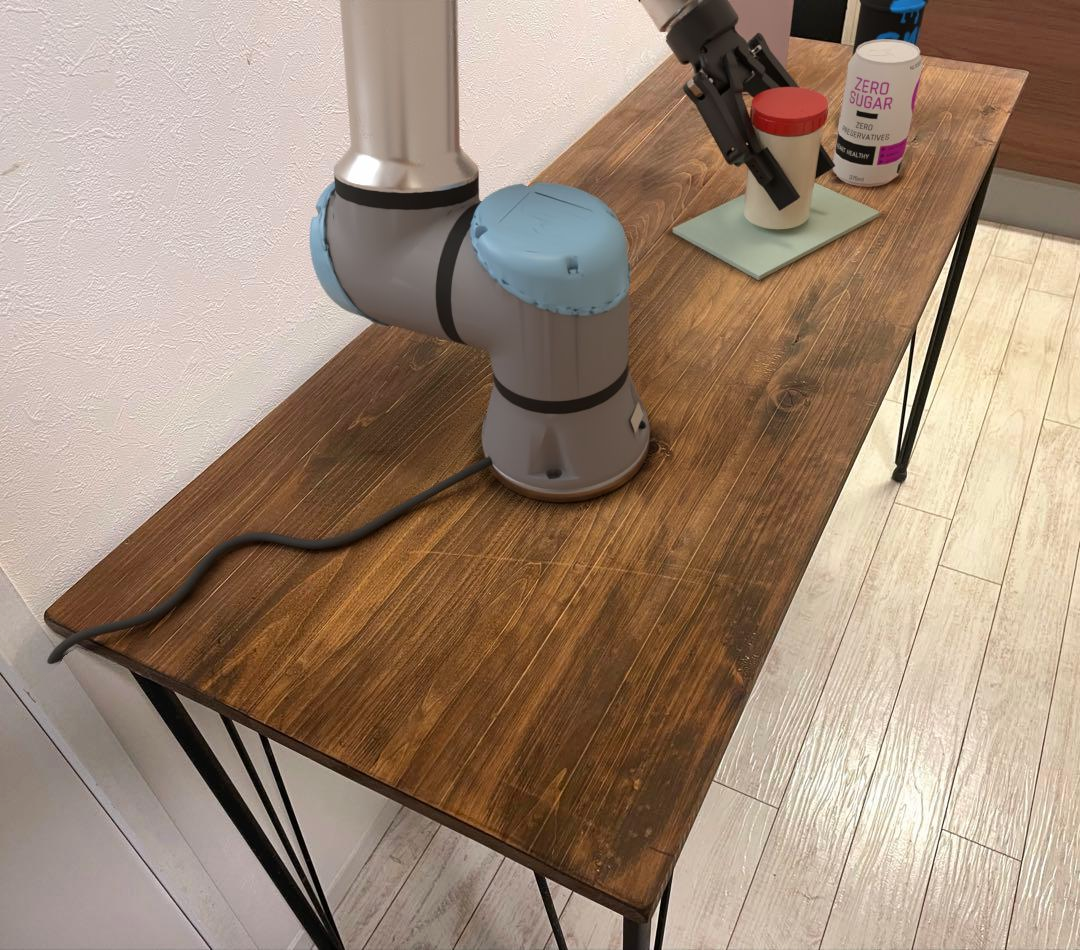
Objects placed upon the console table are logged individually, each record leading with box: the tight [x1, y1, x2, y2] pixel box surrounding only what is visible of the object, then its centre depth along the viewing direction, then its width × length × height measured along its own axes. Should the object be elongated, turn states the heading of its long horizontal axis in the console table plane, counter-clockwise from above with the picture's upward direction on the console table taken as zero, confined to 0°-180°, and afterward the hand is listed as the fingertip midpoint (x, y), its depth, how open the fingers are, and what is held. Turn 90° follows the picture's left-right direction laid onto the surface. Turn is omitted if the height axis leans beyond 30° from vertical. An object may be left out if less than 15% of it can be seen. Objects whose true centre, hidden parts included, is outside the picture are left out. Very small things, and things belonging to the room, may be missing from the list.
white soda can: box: [832, 39, 924, 188], centre depth 110 cm, size 8×8×15 cm
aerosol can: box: [851, 0, 929, 58], centre depth 118 cm, size 8×8×20 cm
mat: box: [672, 182, 881, 281], centre depth 108 cm, size 20×14×1 cm
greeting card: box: [728, 0, 795, 95], centre depth 130 cm, size 11×7×15 cm, turn 46°
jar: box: [743, 125, 824, 229], centre depth 103 cm, size 8×8×12 cm
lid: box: [749, 86, 829, 136], centre depth 99 cm, size 8×8×2 cm
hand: (807, 187), depth 103 cm, fingers closed on jar, 8 cm apart
